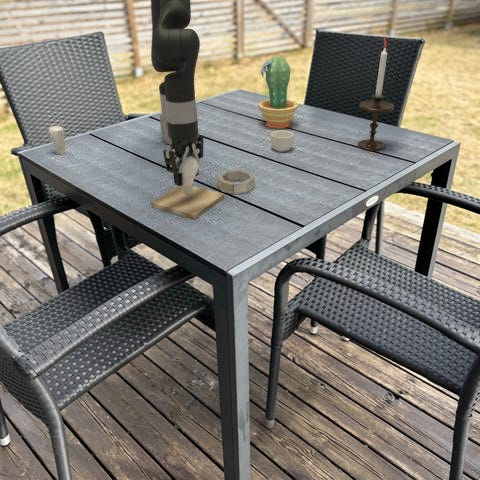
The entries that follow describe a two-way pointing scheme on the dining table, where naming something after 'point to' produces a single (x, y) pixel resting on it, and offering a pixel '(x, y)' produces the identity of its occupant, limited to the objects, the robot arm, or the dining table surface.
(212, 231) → the dining table surface
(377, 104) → the candlestick
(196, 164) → the lightbulb
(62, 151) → the milkshake
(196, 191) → the oak board
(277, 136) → the teacup
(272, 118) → the potted cactus
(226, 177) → the collar
